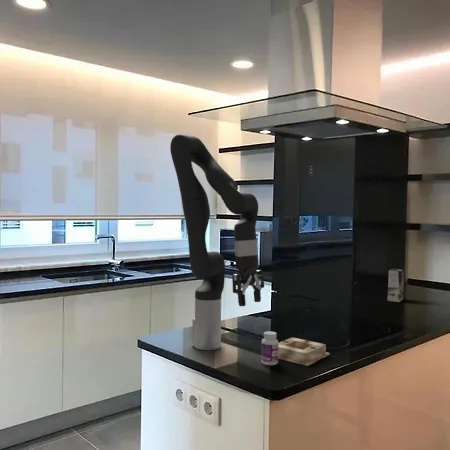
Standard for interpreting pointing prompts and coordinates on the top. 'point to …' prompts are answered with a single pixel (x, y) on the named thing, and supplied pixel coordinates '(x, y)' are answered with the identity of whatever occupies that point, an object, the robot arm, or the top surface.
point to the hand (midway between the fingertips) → (250, 303)
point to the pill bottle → (269, 349)
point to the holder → (301, 351)
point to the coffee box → (395, 285)
